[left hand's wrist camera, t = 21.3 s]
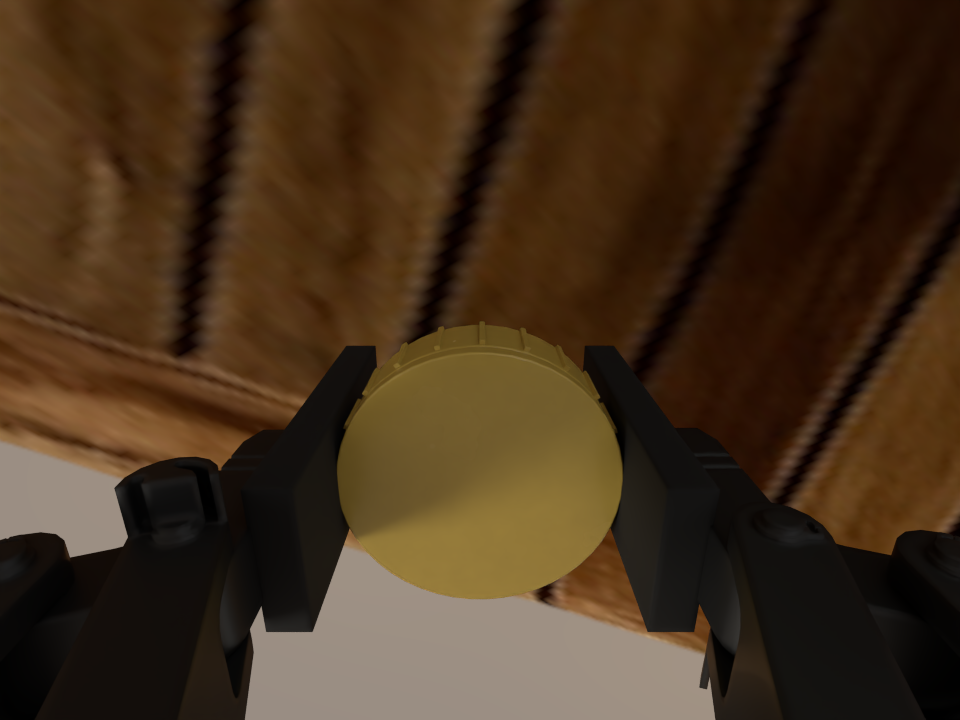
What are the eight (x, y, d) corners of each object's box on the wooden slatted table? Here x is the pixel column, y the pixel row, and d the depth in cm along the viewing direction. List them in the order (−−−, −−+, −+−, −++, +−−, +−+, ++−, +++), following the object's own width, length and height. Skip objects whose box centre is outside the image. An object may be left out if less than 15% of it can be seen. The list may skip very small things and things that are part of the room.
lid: (611, 312, 11) (634, 339, 9) (604, 540, 13) (623, 596, 11) (335, 327, 11) (309, 357, 9) (371, 551, 13) (354, 608, 11)
